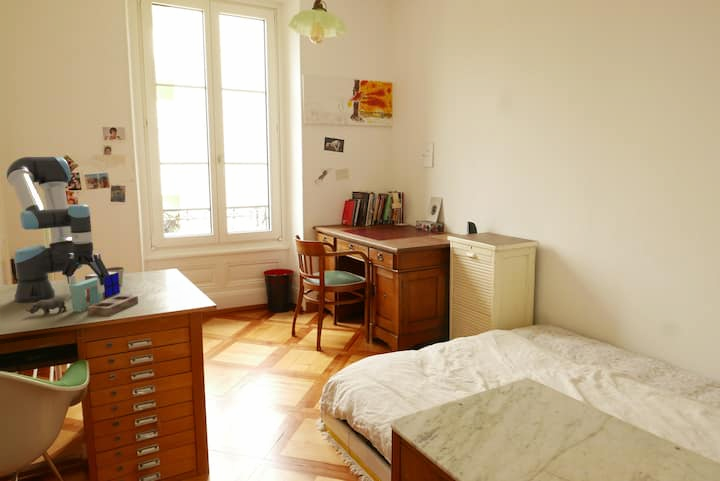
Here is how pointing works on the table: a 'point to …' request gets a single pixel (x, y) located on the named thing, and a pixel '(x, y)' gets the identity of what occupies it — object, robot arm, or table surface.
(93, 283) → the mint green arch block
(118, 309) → the brown flat block
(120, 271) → the flower pot
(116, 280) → the puzzle cube
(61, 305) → the rhino figurine
